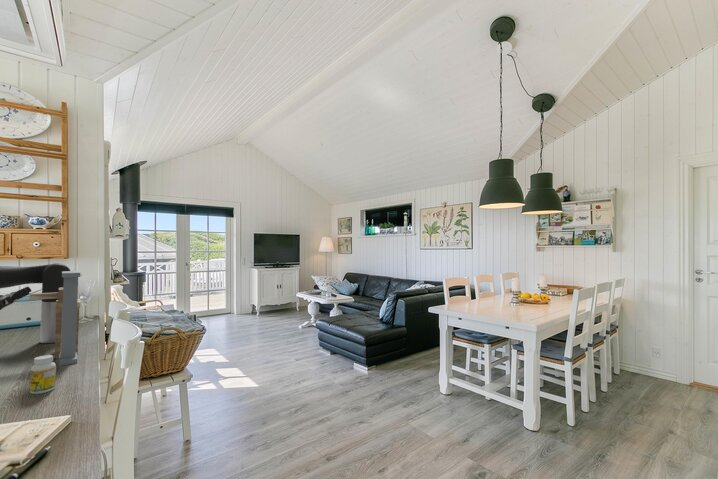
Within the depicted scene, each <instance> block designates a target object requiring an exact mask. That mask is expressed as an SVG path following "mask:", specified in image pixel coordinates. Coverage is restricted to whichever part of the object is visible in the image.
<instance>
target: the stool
mask: <svg viewBox="0 0 718 479" xmlns="http://www.w3.org/2000/svg"><path fill="white" fill-rule="evenodd" d="M80 308H81V299H80V298H78V299H77V326H76V352H77V356H78V354H79V353H78V352H79V329H80V328H79V327H80ZM62 309H63V303H58V300H56V330H55V342H54V355H53V359H57V358H58V359H59V354H61V329H62Z"/></svg>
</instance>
